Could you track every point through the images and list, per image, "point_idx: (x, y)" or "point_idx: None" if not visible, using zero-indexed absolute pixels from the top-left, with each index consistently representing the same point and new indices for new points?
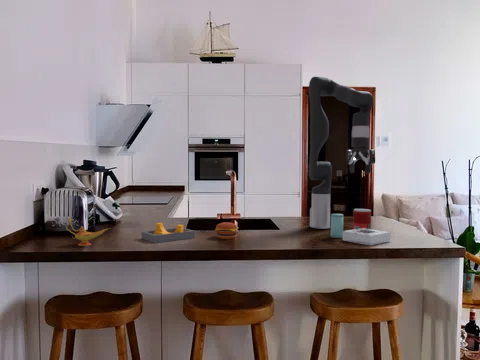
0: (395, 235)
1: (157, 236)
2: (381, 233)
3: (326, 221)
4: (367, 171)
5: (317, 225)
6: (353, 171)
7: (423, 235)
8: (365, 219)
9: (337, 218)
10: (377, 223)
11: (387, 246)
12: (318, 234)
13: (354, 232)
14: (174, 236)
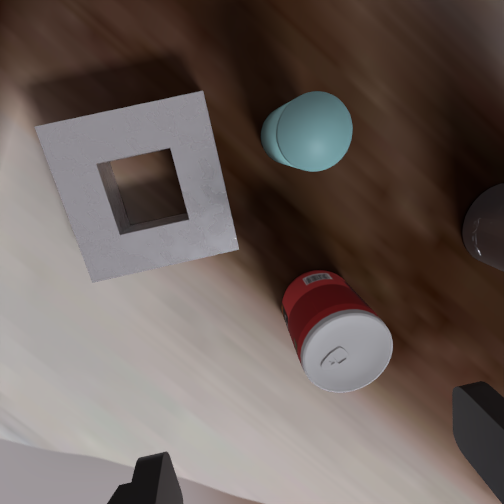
0: (208, 374)
1: None
2: (74, 221)
3: (485, 233)
4: (136, 491)
5: (497, 191)
6: (468, 443)
7: None
8: (295, 319)
9: (282, 110)
10: (437, 479)
11: (17, 184)
12: (374, 94)
13: (143, 117)
14: None
